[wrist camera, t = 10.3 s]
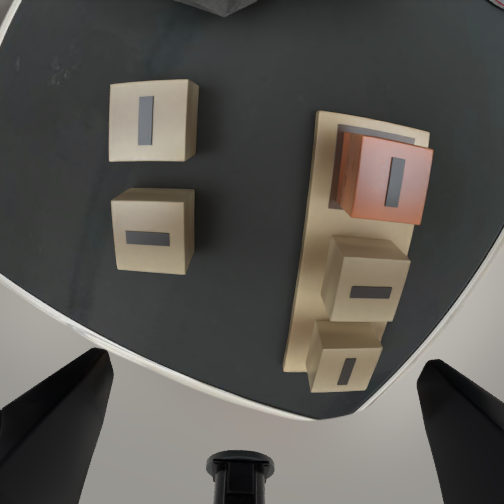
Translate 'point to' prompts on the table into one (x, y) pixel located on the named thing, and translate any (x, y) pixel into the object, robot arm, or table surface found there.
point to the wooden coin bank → (383, 179)
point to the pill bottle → (498, 3)
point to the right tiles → (354, 311)
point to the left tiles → (153, 149)
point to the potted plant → (219, 5)
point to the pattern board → (335, 223)
